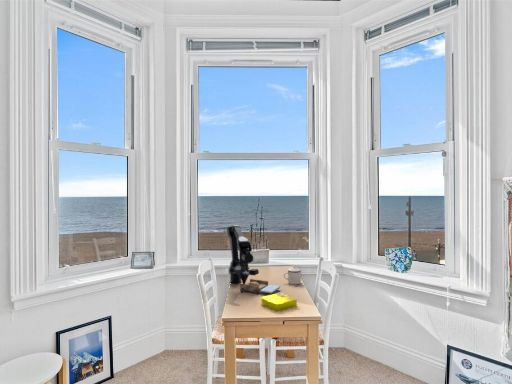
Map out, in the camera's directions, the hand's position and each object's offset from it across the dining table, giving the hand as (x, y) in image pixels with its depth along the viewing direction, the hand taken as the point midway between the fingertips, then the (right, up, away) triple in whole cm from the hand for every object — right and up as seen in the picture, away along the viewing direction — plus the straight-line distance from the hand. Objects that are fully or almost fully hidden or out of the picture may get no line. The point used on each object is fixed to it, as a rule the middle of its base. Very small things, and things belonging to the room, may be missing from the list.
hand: (244, 284), depth 206 cm
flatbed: (+7, -4, +1) cm, 8 cm away
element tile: (+20, -4, -28) cm, 35 cm away
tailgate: (+13, -2, -3) cm, 14 cm away
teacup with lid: (+33, -4, +15) cm, 36 cm away
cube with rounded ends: (+6, -1, -3) cm, 7 cm away
